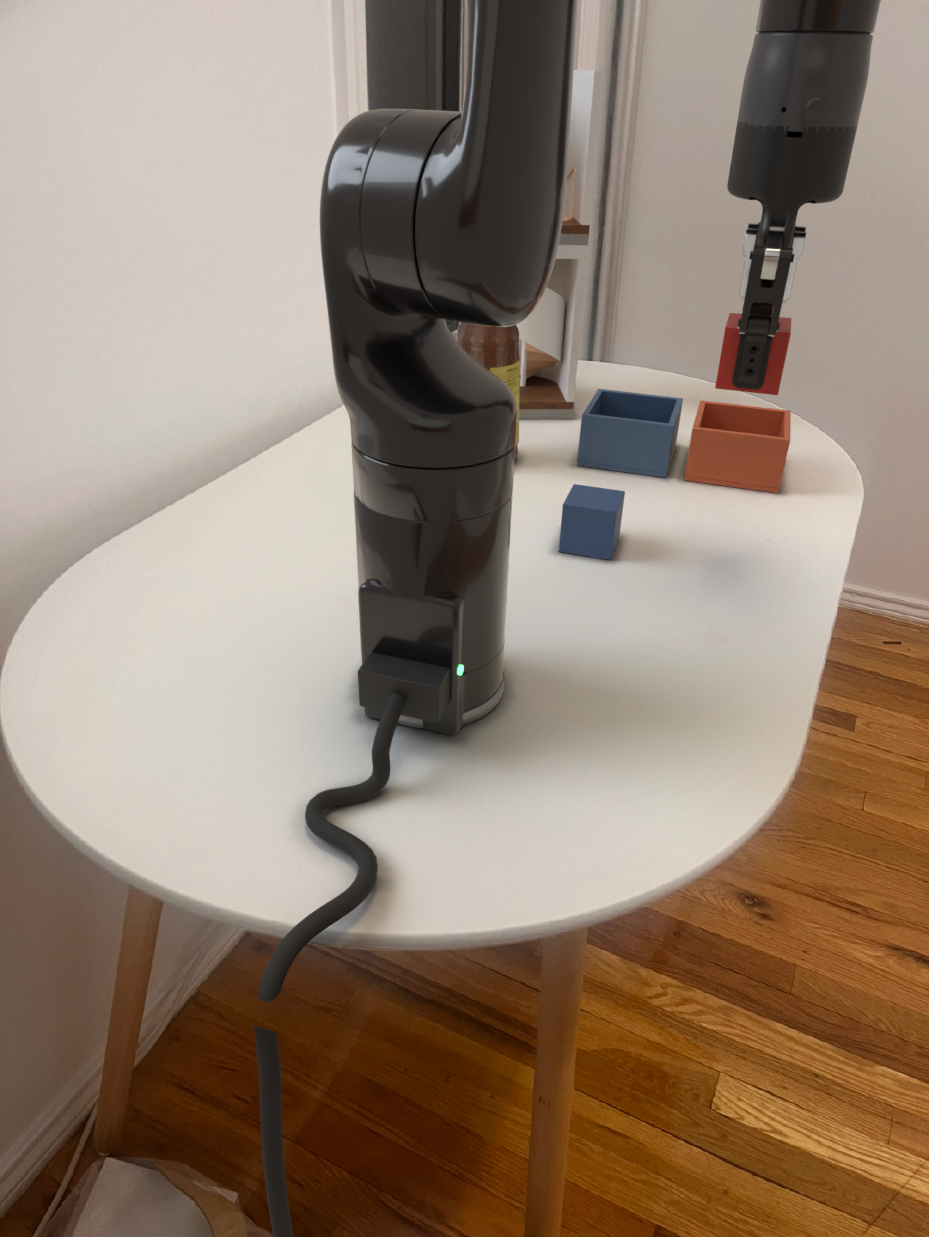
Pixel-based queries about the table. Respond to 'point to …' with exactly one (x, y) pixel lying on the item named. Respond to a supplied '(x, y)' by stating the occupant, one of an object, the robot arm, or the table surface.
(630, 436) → the blue bin
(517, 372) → the sauce bottle
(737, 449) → the red bin
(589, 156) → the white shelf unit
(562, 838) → the table surface
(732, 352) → the red block
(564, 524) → the blue block
